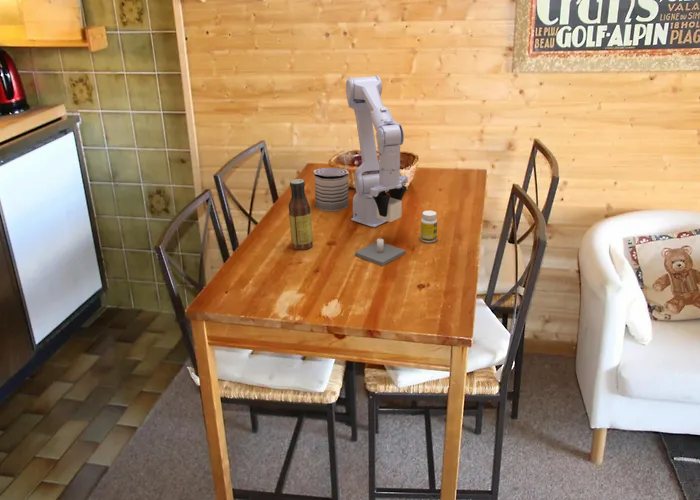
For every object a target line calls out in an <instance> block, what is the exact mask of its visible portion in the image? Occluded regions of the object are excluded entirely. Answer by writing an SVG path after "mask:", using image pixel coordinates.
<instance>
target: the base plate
mask: <svg viewBox="0 0 700 500" xmlns="http://www.w3.org/2000/svg"><path fill="white" fill-rule="evenodd" d="M403 255H406V250H405V249H402V248H399V247H397V246H394V245H391V244H388V243H385V241H384V239H383V238H377V240H376V241H375V242H373V243H371V244H369V245H367V246H365V247H363V248H361V249H359V250H357V251H355V252H354V256H355V257H359V258H360V259H363V260H365V261H367V262H370V263H371V262H372V263H374V264H377V265H379V266H381V267H383V266H385V265H387V264H389V263H390V262H393V261H395V260H396V259H398V258H400V257H402V256H403Z"/></svg>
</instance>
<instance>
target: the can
mask: <svg viewBox="0 0 700 500" xmlns="http://www.w3.org/2000/svg"><path fill="white" fill-rule="evenodd" d="M313 173H314V194H315V195H314V197H315V208H316V209H319V210H321V211H325V212H338V211H343V210H345V209H346V208H348V207H349V206H350V205H349V202H350V201H349V174H350V172H349V170H348V169H345V168H339V167H321V168H318V169H314V170H313Z"/></svg>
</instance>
